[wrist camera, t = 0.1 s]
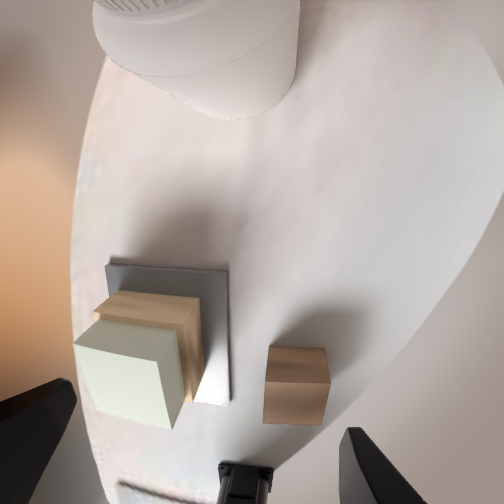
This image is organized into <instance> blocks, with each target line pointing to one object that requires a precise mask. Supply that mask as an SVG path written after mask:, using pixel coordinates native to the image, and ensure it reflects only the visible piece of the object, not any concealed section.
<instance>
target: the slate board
mask: <svg viewBox="0 0 504 504" xmlns="http://www.w3.org/2000/svg"><path fill="white" fill-rule="evenodd" d="M105 271H106V278H107V284H108V291H109V297H110V296H112V295H113V294H114V293H115V292H116V291H118V290H122V291H131V292H140V293H150V294H160V295H171V296H182V297H194V298H199V299H200V315H201V330H202V343H203V356H204V367H205V372H204V375H203V378H202V380H201V383H200V386H199V388H198V391H197V393H196V396H195V399H194V402H201V403H208V404H216V405H224V406H230V376H229V344H228V300H227V271H212V270H195V269H179V268H163V267H148V266H134V265H120V264H107V265H106V266H105Z"/></svg>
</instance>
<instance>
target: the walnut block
mask: <svg viewBox="0 0 504 504" xmlns="http://www.w3.org/2000/svg"><path fill="white" fill-rule="evenodd" d="M330 385H331V382H330V376H329V370H328V364H327V358H326V353H325V348H292V347H271V346H269V350H268V360H267V369H266V378H265V393H264V410H263V423H269V424H290V425H321V423H322V419H323V415H324V411H325V407H326V402H327V398H328V394H329V389H330Z"/></svg>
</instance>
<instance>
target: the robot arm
mask: <svg viewBox="0 0 504 504" xmlns="http://www.w3.org/2000/svg"><path fill="white" fill-rule="evenodd" d="M76 403H77V397H76V394H75V391H74V389H73V386H72V383H71V382H70V381H69V380H67V379H64V378H58V379H56V380H53V381H51V382H48V383H45V384H43V385H41V386H38V387H36V388H33V389H31V390H28V391H26V392H24V393H21V394H18V395H16V396H13V397H11V398H8V399H6V400H3V401H0V504H28V503H29V501H30V499H31V497H32V495H33V493H34V491H35V489H36V487H37V485H38V483H39V480H40V479H41V477H42V475H43V473H44V471H45V469H46V467H47V465H48V463H49V461H50V459H51V457H52V455H53V453H54V451H55V450H56V448H57V446H58V444H59V442H60V440H61V438H62V436H63V434H64V432H65V430H66V427H67V425H68V422H69V420H70V417H71V415H72V413H73V410H74V408H75V406H76ZM218 471H219V478H220V485H221V487H220V491H219V496H218V500H217V504H267V496H268V493H270V492H271V487H272V480H273V473H274V469H272V468H262V467H249V466H239V465H230V464H219V466H218ZM339 495H340V504H427V503H426V502H425V501H423V499H422V498H421V496H420V495H419V494H418V493H417V492H416V491H415V490H414V488H413V487H412V486H411V485H410V484H409V483H408V482H407V481H406V479H405V478H404V477H403V476H402V475H401V474H400V473H399V471H398V470H397V469H396V468H395V467H394V466H393V464H392V463H391V462H390V461H389V460H388V459H387V457H386V456H385V455H384V454H383V453H382V452H381V450H380V449H379V448H378V447H377V446H376V445H375V444H374V443H373V441H372V440H371V439H370V438H369V436H368V435H367V434H366V433H365V432H364V430H363V429H362V428H360V427H348V428H347V429H346V431H345V433H344V436H343V438H342V440H341V443H340V448H339Z"/></svg>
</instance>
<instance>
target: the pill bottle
mask: <svg viewBox="0 0 504 504" xmlns="http://www.w3.org/2000/svg"><path fill="white" fill-rule="evenodd" d="M299 15H300V0H94V6H93V26H94V30H95V34H96V36H97V39H98V41H99V43H100V45H101V47H102V48H103V49H104V51H105V53H106V54H107V55H108V56H109V58H110V59H111V60H113V61H114V62H115V63H116V64H118V65H119V66H120V67H122V68H124V69H125V70H127V71H129V72H131V73H132V74H134V75H136V76H138V77H140V78H142V79H144V80H146V81H147V82H149V83H151V84H153V85H155V86H157V87H158V88H160V89H162V90H164V91H166V92H167V93H169V94H171V95H173V96H174V97H176V98H178V99H179V100H181V101H183V102H185V103H186V104H188V105H190V106H191V107H193V108H195V109H196V110H198V111H200V112H202V113H203V114H206V115H208V116H211V117H214V118H219V119H224V120H241V119H247V118H251V117H254V116H257V115H260V114H262V113H264V112H266V111H267V110H269V109H271V108H272V107H273V106H275V105H276V104H277V103H278V102H279V101H280V100H281V99H282V98H283V97H284V95H285V94H286V93H287V91H288V89H289V87H290V85H291V83H292V81H293V78H294V74H295V68H296V56H297V43H298V30H299Z"/></svg>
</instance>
